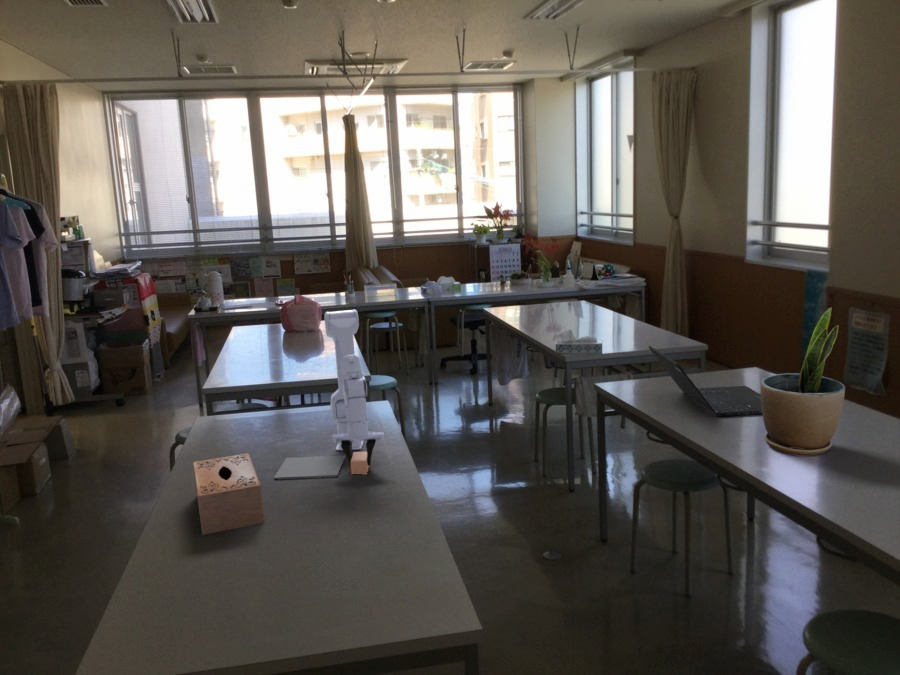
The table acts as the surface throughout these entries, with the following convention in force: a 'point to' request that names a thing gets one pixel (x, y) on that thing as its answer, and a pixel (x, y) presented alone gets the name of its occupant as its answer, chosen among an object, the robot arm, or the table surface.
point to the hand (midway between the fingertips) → (360, 464)
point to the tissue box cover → (228, 493)
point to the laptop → (713, 392)
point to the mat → (310, 467)
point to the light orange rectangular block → (359, 463)
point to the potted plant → (804, 400)
